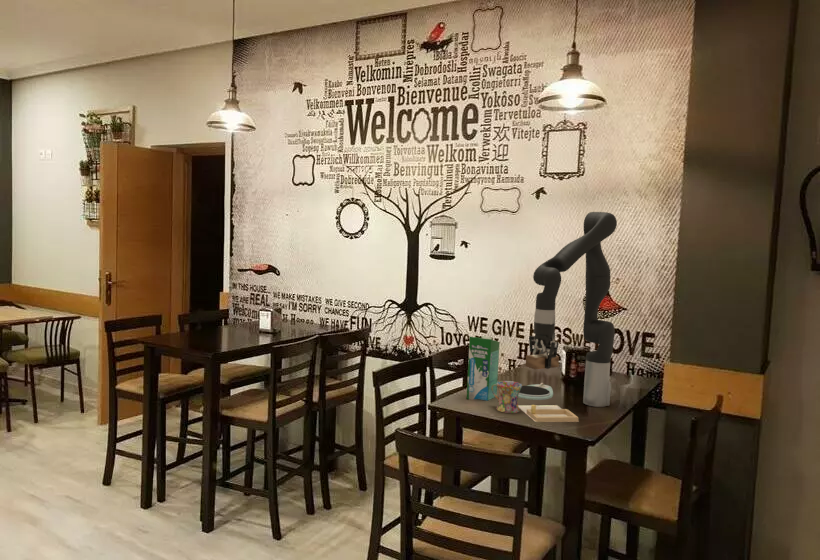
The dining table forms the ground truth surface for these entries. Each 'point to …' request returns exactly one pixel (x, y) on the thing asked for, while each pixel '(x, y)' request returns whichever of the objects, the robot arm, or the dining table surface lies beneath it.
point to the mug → (508, 396)
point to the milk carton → (482, 368)
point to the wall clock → (536, 392)
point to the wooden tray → (548, 413)
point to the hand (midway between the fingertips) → (542, 366)
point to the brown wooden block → (540, 361)
